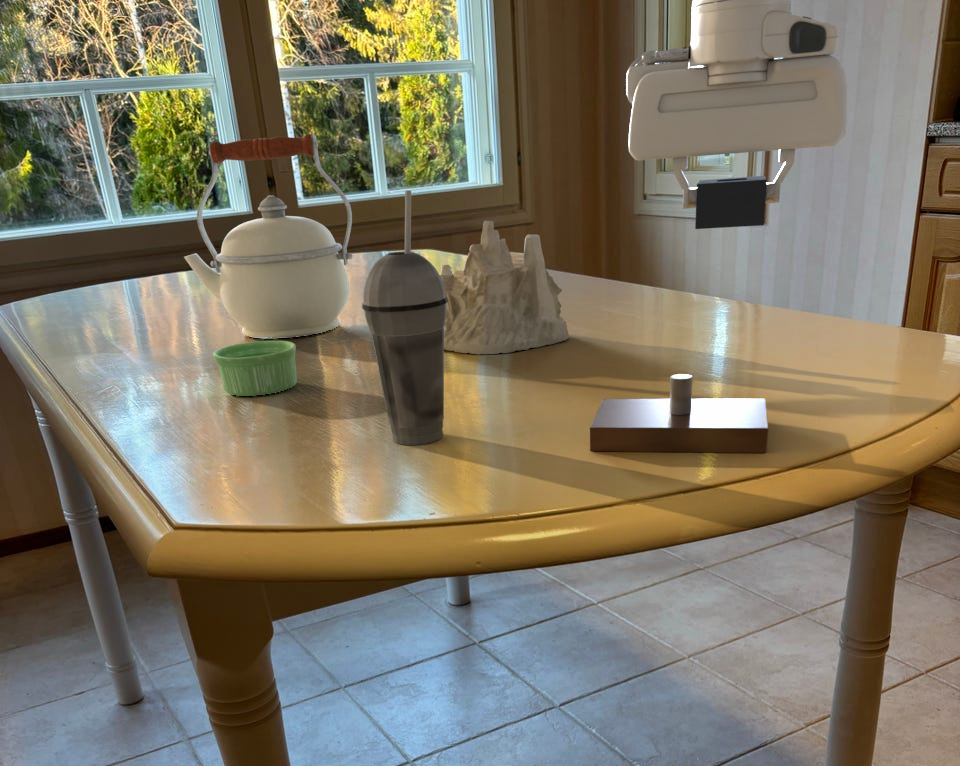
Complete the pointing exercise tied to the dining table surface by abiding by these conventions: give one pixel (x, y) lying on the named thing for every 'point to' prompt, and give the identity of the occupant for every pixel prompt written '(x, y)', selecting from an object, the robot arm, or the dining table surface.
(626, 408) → the wooden peg base
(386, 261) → the beverage cup
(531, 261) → the white castle figurine
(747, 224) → the dark grey holed block
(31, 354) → the dining table surface
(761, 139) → the robot arm
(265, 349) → the ramekin
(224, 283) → the kettle
